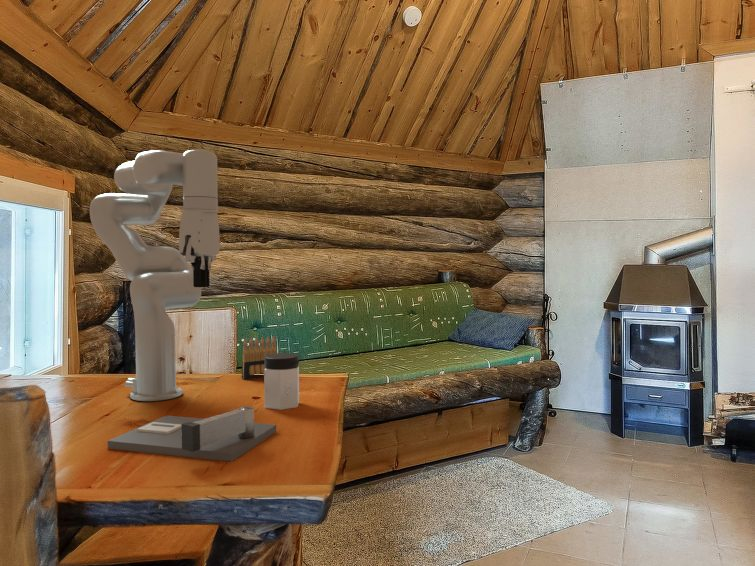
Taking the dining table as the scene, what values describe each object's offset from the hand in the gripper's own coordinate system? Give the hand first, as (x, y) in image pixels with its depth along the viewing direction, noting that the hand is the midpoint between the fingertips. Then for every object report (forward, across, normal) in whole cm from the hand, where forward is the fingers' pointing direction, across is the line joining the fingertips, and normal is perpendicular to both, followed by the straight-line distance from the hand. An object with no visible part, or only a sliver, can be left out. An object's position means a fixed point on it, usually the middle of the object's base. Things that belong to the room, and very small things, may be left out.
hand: (201, 286), depth 137 cm
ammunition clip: (+29, -38, -5) cm, 48 cm away
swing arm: (+27, +25, +20) cm, 41 cm away
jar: (+29, -10, +15) cm, 34 cm away
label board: (+29, +19, +10) cm, 36 cm away
